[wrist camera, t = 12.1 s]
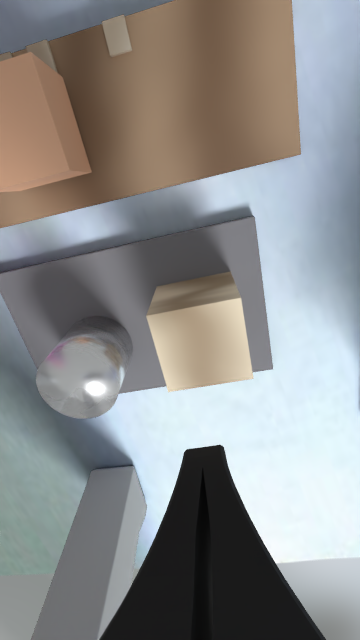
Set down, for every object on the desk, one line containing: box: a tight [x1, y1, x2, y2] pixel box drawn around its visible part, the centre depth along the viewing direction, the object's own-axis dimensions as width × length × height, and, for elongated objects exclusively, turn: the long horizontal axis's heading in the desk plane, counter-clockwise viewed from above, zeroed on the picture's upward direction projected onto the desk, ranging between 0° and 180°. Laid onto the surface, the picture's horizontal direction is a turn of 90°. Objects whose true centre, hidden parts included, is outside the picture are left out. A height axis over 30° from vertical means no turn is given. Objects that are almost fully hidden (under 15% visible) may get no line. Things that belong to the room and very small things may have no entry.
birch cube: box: [146, 271, 253, 392], centre depth 17 cm, size 4×4×4 cm
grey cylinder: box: [36, 316, 133, 419], centre depth 19 cm, size 4×4×4 cm
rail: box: [0, 0, 301, 228], centre depth 15 cm, size 19×7×1 cm, turn 103°
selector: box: [0, 52, 92, 192], centre depth 14 cm, size 4×4×3 cm
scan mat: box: [0, 216, 273, 394], centre depth 20 cm, size 16×10×1 cm, turn 103°
